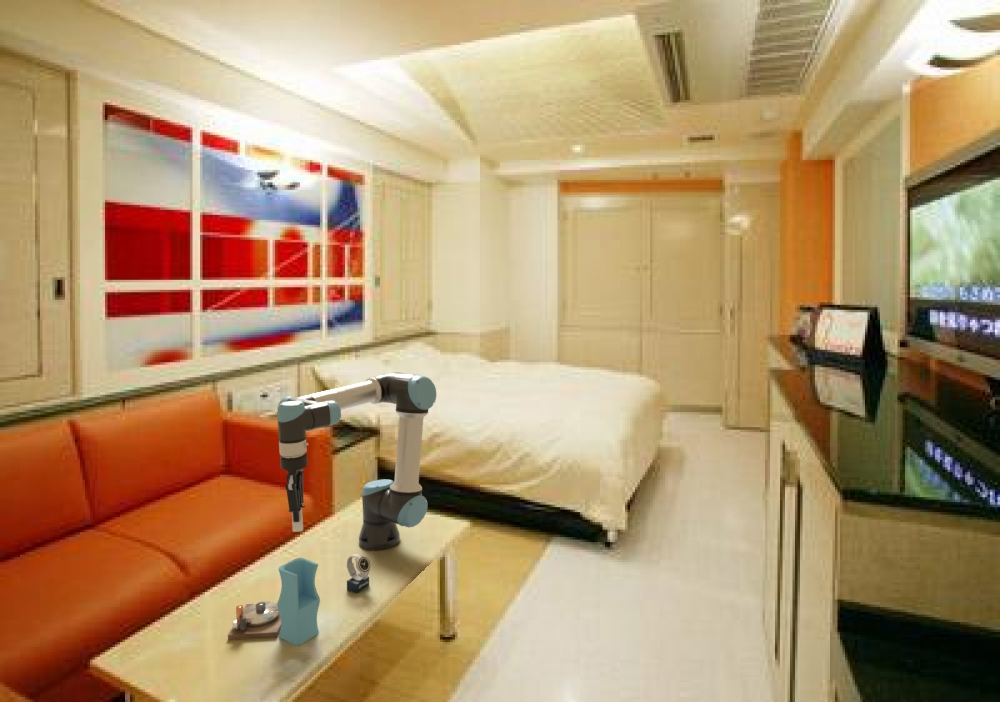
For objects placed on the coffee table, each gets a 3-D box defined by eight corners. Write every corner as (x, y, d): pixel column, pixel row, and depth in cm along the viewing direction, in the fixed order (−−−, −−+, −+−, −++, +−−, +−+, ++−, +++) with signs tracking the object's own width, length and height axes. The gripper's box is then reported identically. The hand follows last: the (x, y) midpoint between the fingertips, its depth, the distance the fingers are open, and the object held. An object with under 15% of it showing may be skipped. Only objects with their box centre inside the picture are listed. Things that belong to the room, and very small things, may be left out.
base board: (246, 608, 170) (246, 593, 169) (291, 606, 171) (290, 590, 170) (228, 639, 155) (227, 622, 154) (277, 637, 156) (276, 620, 156)
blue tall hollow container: (297, 646, 152) (294, 576, 150) (278, 637, 156) (275, 568, 154) (321, 631, 159) (318, 563, 156) (302, 622, 163) (299, 556, 161)
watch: (361, 595, 177) (360, 562, 176) (343, 588, 181) (342, 555, 180) (374, 587, 182) (373, 554, 181) (355, 580, 186) (354, 548, 185)
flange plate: (268, 602, 170) (267, 584, 169) (286, 614, 163) (285, 596, 163) (226, 621, 160) (225, 602, 159) (244, 635, 154) (243, 616, 153)
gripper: (301, 460, 161) (306, 539, 164) (311, 447, 173) (315, 520, 177) (274, 462, 160) (279, 541, 163) (285, 448, 173) (290, 521, 176)
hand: (298, 530), depth 170 cm, fingers closed
